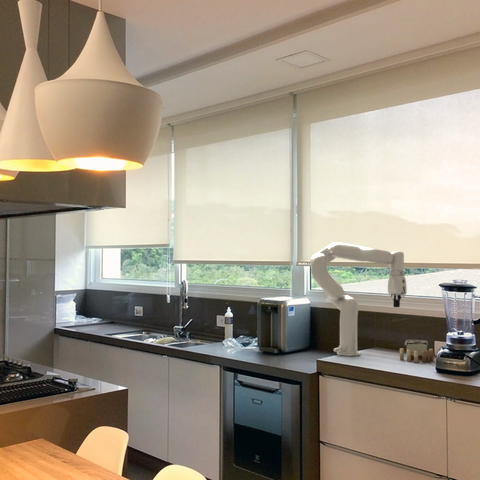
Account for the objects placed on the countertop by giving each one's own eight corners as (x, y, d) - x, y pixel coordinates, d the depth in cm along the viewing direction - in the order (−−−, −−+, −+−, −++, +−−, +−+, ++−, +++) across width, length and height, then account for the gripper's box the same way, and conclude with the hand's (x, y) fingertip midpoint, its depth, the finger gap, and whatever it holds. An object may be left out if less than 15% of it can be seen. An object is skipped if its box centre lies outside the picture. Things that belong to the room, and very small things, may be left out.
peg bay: (420, 364, 277) (420, 352, 277) (399, 360, 288) (399, 348, 288) (438, 361, 285) (438, 349, 285) (416, 357, 296) (416, 346, 296)
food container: (423, 358, 294) (423, 339, 294) (428, 360, 288) (428, 341, 288) (401, 358, 293) (401, 339, 293) (405, 360, 287) (405, 341, 287)
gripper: (412, 274, 302) (411, 307, 301) (391, 273, 315) (391, 305, 314) (402, 274, 298) (402, 308, 297) (381, 273, 311) (381, 306, 310)
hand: (396, 307), depth 306 cm, fingers closed
